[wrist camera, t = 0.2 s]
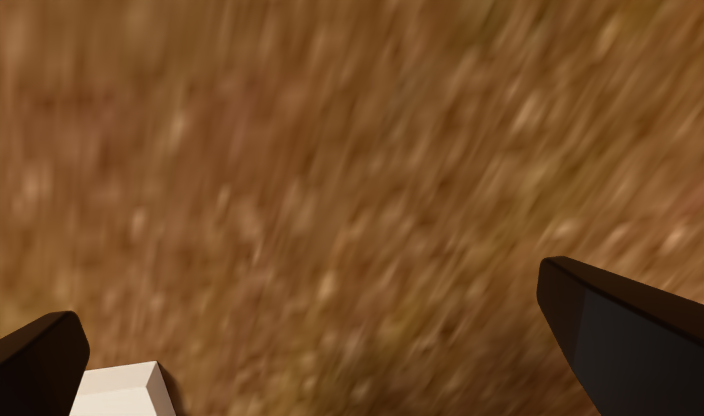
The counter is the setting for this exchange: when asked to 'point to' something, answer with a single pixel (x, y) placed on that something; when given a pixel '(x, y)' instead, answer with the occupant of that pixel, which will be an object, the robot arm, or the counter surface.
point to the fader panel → (123, 392)
